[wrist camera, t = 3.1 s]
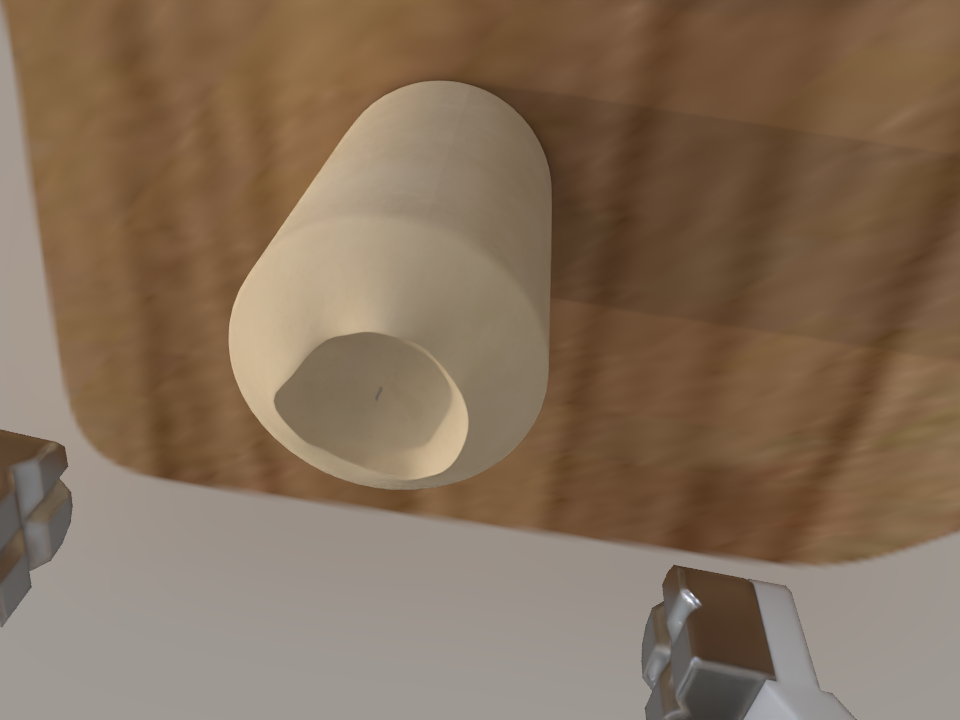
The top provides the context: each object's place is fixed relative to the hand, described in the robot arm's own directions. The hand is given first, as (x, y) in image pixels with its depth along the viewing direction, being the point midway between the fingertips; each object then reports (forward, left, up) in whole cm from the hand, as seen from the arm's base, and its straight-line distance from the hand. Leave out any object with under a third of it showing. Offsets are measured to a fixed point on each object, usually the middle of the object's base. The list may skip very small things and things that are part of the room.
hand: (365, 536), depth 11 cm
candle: (0, 0, -13) cm, 13 cm away
